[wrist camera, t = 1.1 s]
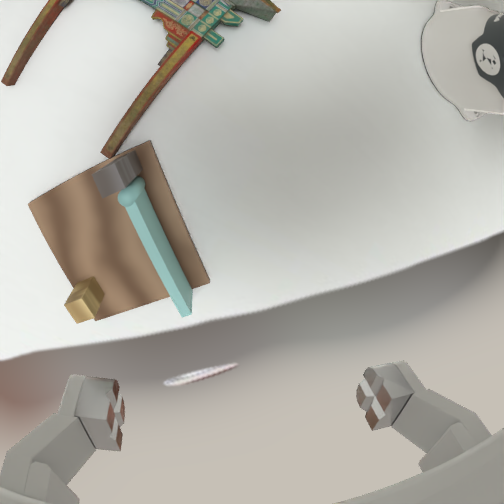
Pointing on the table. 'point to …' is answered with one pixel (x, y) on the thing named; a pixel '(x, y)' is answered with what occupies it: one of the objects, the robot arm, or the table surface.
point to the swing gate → (156, 244)
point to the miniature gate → (179, 41)
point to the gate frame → (112, 236)
